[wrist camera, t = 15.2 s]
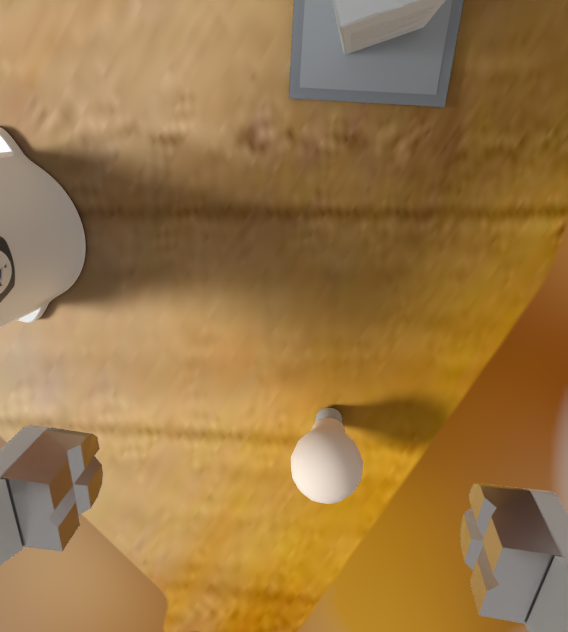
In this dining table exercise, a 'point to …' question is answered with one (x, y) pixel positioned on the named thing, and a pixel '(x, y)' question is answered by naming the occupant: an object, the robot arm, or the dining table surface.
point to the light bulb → (326, 460)
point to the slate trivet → (372, 60)
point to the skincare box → (380, 20)
